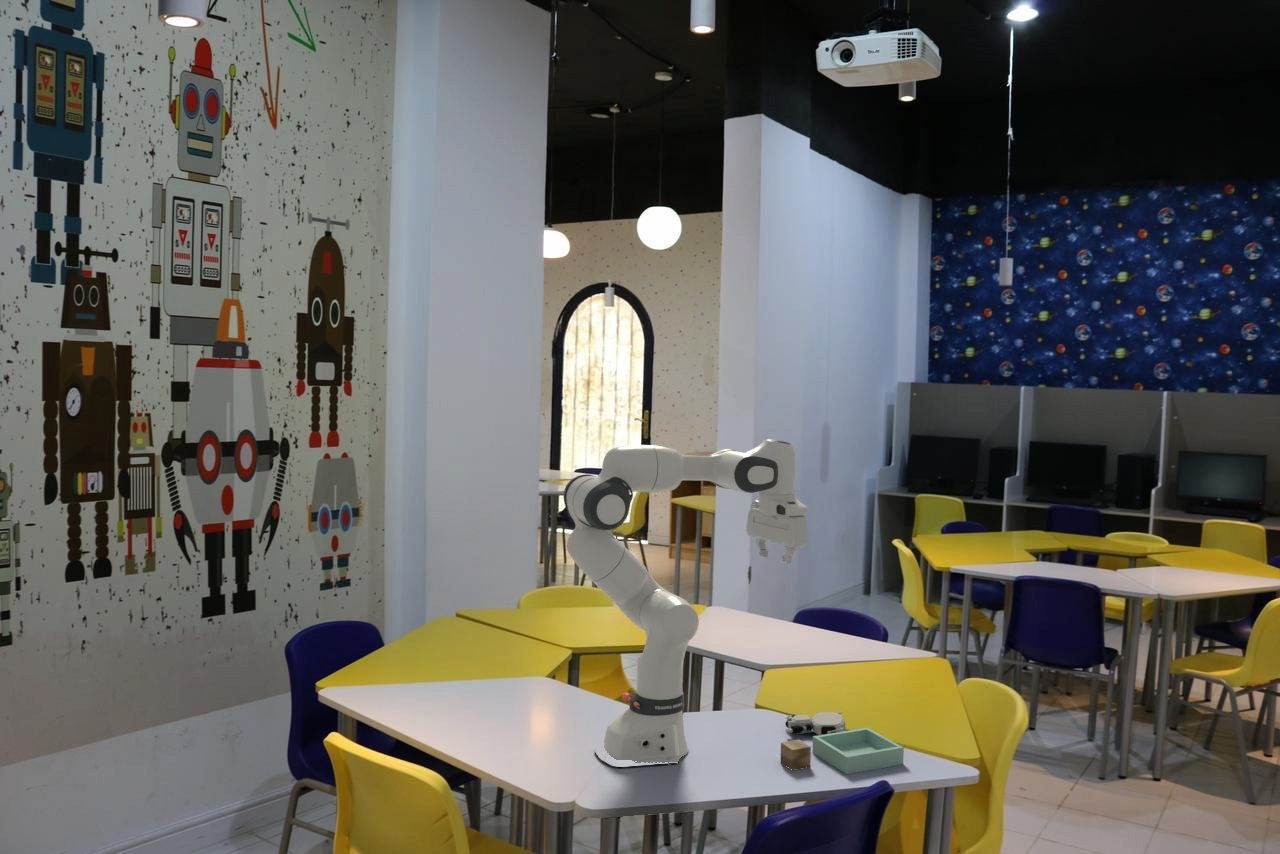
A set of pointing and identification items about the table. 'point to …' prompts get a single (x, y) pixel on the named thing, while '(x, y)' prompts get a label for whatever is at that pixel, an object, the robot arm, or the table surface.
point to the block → (795, 754)
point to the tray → (857, 750)
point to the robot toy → (816, 723)
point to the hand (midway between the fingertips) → (775, 559)
